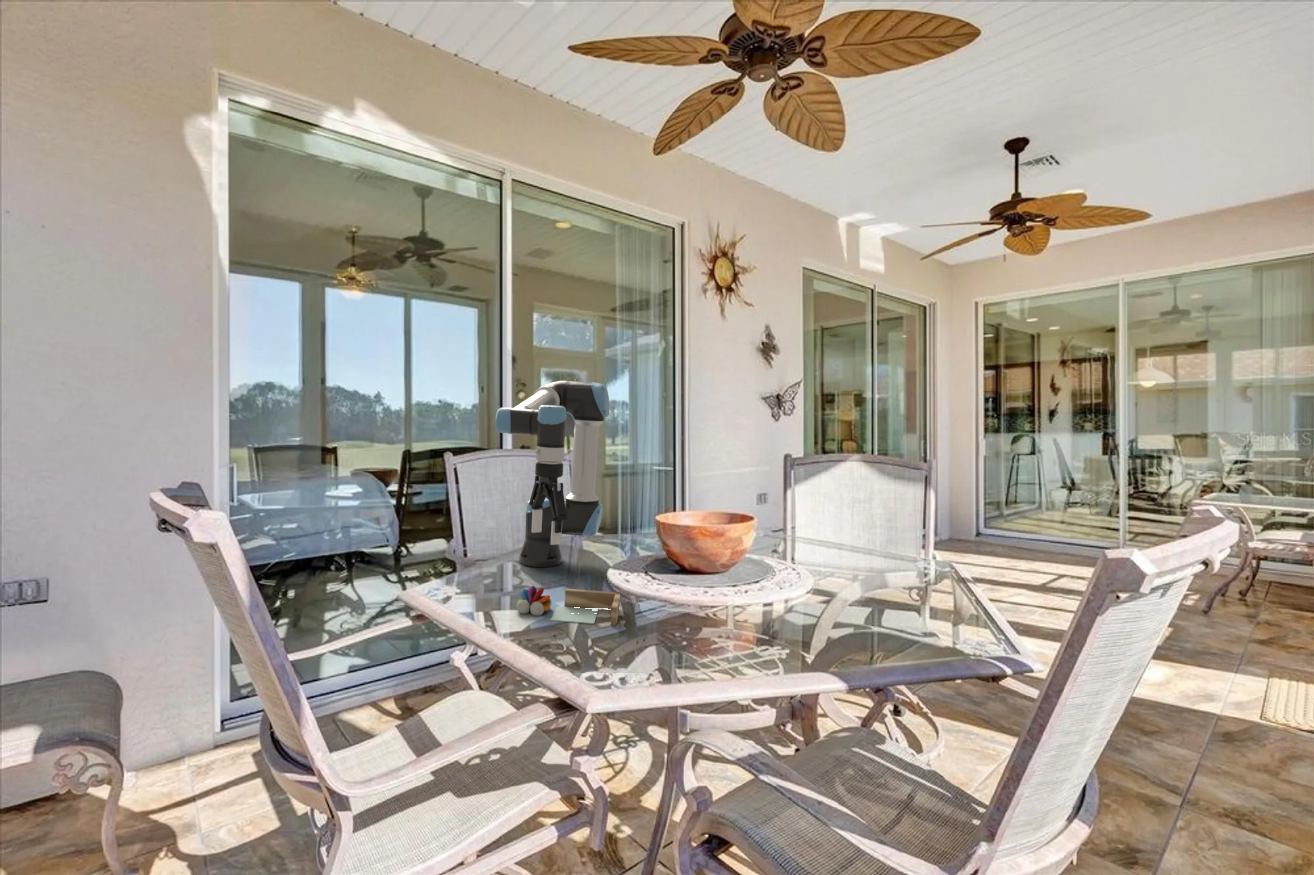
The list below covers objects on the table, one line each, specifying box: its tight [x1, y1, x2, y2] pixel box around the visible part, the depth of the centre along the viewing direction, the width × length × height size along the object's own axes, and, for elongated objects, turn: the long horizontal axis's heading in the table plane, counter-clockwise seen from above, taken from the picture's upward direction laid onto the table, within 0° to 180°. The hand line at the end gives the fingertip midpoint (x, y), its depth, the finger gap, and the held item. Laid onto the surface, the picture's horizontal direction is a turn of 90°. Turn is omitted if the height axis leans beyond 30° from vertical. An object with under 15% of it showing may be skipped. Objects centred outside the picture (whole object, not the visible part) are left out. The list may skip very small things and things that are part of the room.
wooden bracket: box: [563, 588, 622, 626], centre depth 175 cm, size 12×16×5 cm
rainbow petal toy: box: [516, 585, 552, 617], centre depth 175 cm, size 8×10×7 cm
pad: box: [550, 605, 599, 625], centre depth 174 cm, size 10×12×1 cm
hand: (545, 538), depth 171 cm, fingers open, 13 cm apart
